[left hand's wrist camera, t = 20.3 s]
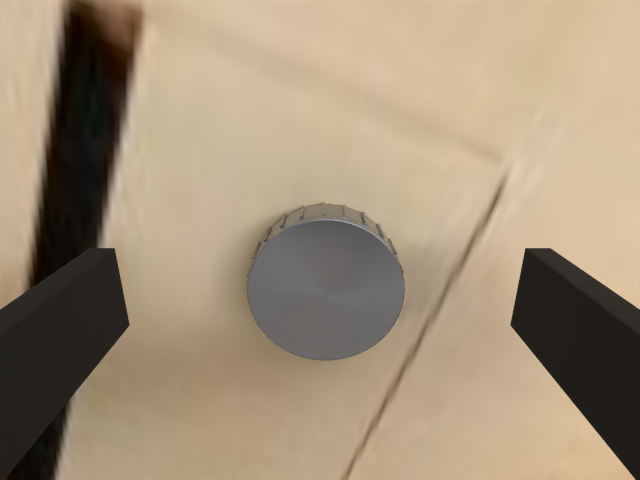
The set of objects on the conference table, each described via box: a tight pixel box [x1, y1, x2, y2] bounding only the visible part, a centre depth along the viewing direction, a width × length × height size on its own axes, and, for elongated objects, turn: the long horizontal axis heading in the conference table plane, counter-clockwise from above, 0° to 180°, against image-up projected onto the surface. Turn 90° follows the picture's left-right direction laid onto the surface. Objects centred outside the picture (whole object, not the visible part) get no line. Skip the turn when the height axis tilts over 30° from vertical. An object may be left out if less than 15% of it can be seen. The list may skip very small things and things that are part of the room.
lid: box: [247, 203, 405, 360], centre depth 15 cm, size 6×6×2 cm
